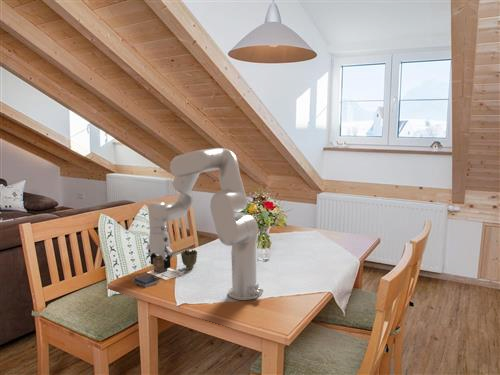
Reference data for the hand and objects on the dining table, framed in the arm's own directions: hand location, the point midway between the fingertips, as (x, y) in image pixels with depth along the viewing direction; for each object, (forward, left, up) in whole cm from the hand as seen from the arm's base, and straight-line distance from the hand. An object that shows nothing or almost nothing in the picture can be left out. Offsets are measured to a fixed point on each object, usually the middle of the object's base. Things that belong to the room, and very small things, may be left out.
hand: (160, 265), depth 191 cm
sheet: (-3, 0, -3) cm, 4 cm away
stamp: (0, 0, -2) cm, 2 cm away
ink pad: (-5, +12, -3) cm, 13 cm away
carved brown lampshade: (-7, -11, -3) cm, 13 cm away
